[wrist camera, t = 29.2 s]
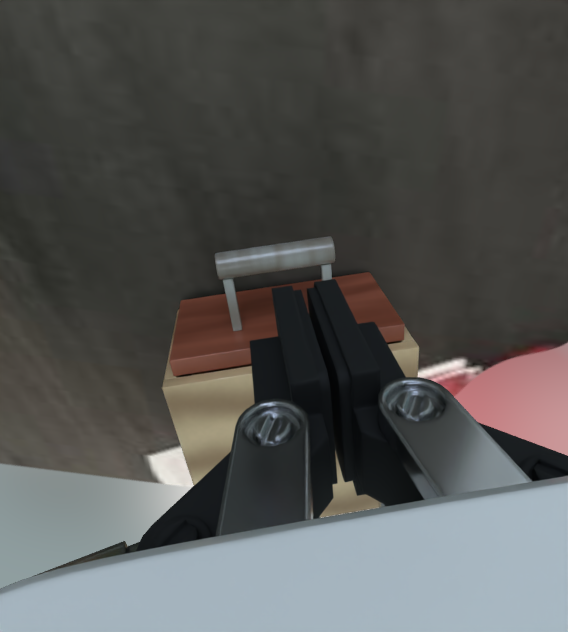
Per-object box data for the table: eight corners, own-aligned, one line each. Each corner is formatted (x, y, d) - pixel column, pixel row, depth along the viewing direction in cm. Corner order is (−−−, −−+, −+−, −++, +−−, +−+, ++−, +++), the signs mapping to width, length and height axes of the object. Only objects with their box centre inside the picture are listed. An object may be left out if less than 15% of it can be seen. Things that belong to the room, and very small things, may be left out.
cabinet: (177, 309, 35) (161, 387, 26) (374, 279, 35) (419, 347, 27) (213, 442, 42) (210, 536, 34) (375, 416, 43) (411, 502, 34)
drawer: (162, 232, 30) (144, 281, 24) (368, 202, 31) (407, 242, 24) (215, 431, 40) (212, 505, 33) (371, 405, 41) (400, 474, 34)
